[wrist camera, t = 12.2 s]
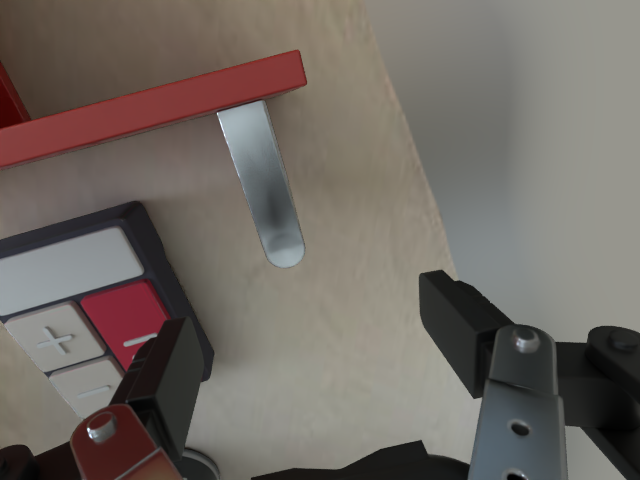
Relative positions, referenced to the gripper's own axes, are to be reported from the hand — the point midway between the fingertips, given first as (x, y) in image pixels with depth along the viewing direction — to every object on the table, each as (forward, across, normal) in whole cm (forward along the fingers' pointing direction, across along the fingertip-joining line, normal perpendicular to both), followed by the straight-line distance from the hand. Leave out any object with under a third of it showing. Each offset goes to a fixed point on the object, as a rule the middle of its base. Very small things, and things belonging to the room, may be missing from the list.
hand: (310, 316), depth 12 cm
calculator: (+16, +15, +6) cm, 23 cm away
